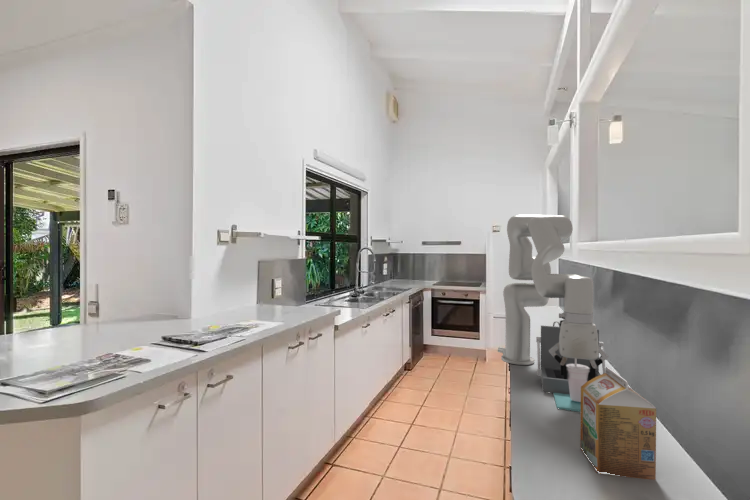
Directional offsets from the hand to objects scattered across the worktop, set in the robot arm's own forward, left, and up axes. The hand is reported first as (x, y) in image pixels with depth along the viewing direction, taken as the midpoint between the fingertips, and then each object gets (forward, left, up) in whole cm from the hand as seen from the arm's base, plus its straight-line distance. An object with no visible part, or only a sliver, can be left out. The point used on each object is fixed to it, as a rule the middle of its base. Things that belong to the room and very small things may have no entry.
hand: (577, 378), depth 117 cm
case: (-7, +12, -7) cm, 16 cm away
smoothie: (0, 0, -6) cm, 6 cm away
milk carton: (+20, -27, -8) cm, 34 cm away
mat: (0, 0, -7) cm, 7 cm away
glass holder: (-27, +52, -8) cm, 59 cm away
